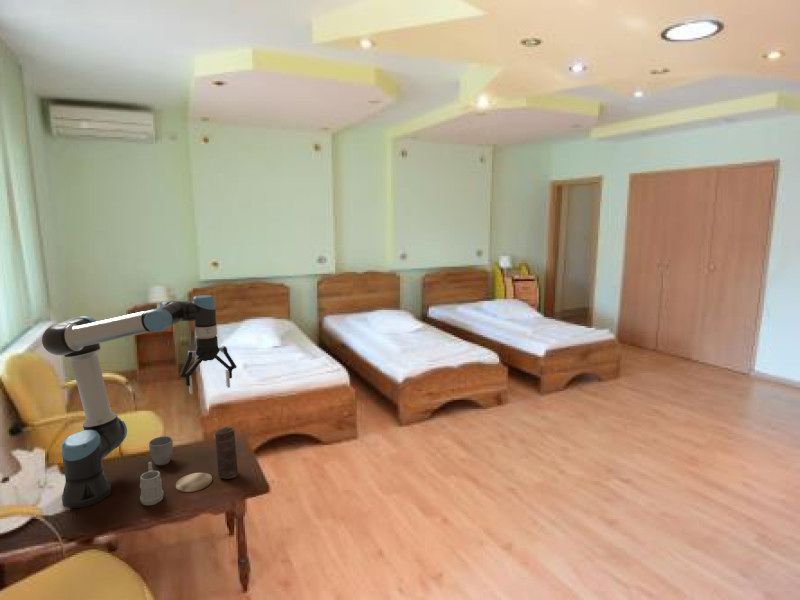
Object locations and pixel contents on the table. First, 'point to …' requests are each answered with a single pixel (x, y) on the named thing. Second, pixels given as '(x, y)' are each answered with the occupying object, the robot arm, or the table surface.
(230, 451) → the candle
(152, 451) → the mug
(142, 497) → the mug
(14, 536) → the table surface
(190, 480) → the coaster
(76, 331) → the robot arm
